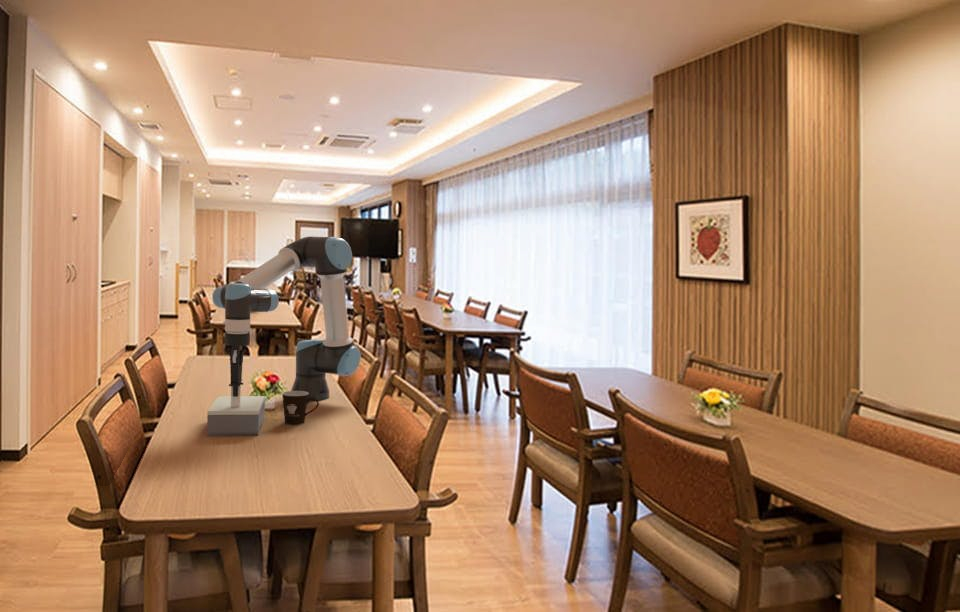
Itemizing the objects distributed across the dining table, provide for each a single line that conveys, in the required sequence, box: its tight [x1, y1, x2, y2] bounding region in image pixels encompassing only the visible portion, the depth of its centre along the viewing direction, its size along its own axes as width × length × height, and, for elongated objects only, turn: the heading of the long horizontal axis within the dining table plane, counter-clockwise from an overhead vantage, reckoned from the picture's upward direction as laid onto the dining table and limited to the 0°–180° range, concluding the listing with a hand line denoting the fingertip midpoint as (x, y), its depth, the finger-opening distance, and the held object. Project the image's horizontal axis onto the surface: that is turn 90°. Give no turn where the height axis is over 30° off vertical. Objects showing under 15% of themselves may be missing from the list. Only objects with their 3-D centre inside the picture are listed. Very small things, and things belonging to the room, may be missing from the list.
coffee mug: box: [281, 390, 320, 426], centre depth 225 cm, size 12×9×10 cm
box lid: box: [206, 395, 266, 415], centre depth 216 cm, size 15×22×1 cm
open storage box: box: [206, 400, 266, 437], centre depth 217 cm, size 15×22×6 cm
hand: (235, 405), depth 211 cm, fingers closed
